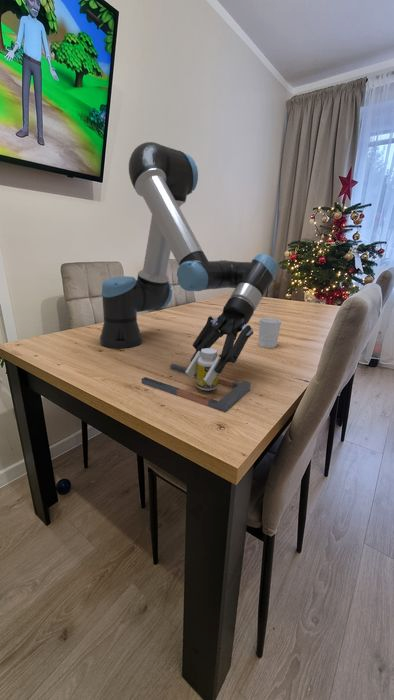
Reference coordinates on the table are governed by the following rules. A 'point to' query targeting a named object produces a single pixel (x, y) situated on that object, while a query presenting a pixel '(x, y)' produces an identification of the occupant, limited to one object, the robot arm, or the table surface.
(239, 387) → the grey brown flat u-shape
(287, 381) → the table surface
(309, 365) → the table surface
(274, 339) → the white cup
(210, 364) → the supplement bottle
